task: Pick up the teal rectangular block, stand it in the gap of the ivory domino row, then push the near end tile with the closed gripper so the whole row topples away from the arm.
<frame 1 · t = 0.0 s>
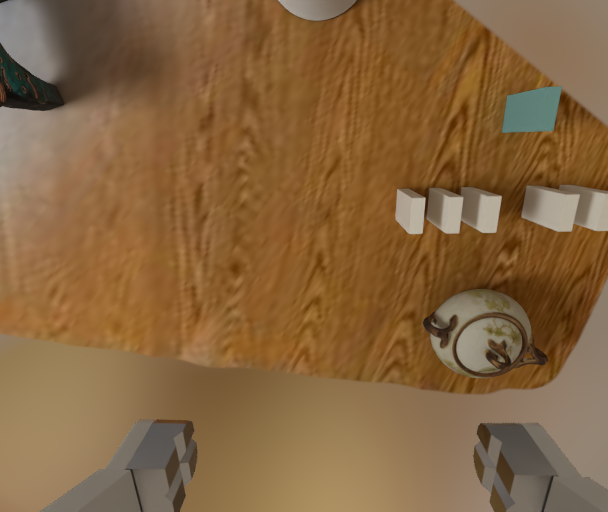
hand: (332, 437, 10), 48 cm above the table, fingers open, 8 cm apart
domino 3: (465, 202, 55), on the table
domino 5: (562, 200, 54), on the table
teal rectangular block: (510, 114, 50), on the table
domino 1: (402, 204, 55), on the table
domino 4: (529, 201, 54), on the table
domino 2: (433, 203, 55), on the table
ceramic cat: (27, 50, 51), on the table
sugar bowl: (462, 313, 61), on the table
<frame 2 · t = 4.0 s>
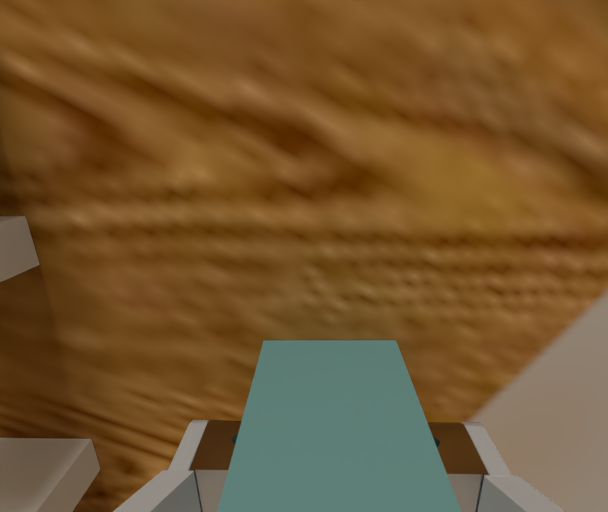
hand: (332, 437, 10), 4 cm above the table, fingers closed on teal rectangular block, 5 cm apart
teal rectangular block: (329, 360, 13), on the table, touching gripper
domino 4: (42, 453, 16), on the table
when the fingers open (4 cm above the table, at t = 10.0 s): teal rectangular block stays where it is, on the table.
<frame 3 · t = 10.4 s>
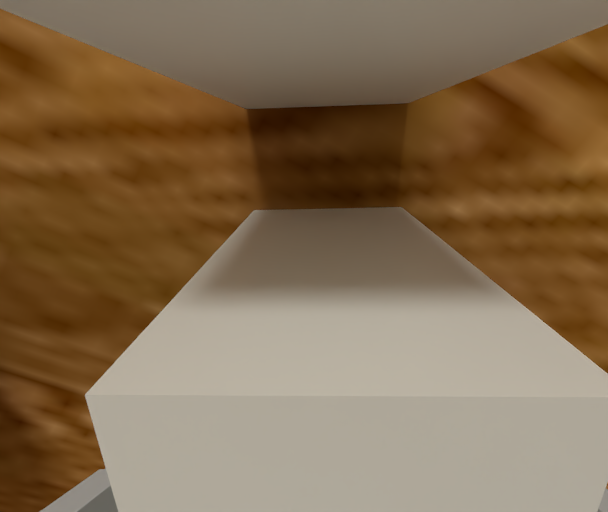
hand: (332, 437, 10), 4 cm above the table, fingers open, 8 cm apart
domino 3: (327, 234, 12), on the table
domino 2: (326, 73, 10), on the table
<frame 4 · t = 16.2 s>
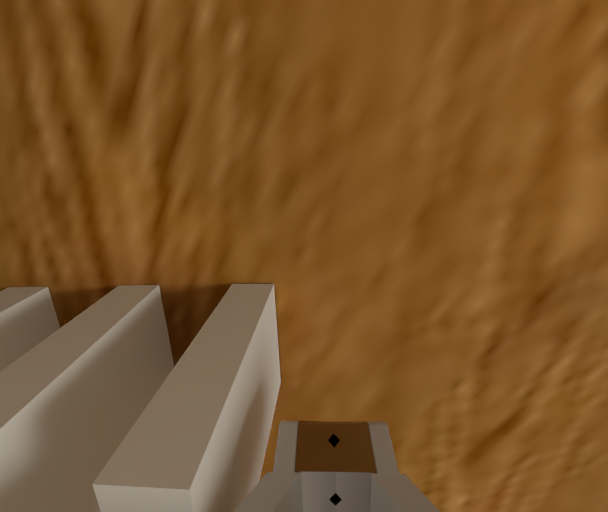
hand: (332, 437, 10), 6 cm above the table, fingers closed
domino 3: (44, 336, 16), on the table
domino 1: (257, 335, 15), on the table, touching gripper
domino 2: (149, 335, 16), on the table
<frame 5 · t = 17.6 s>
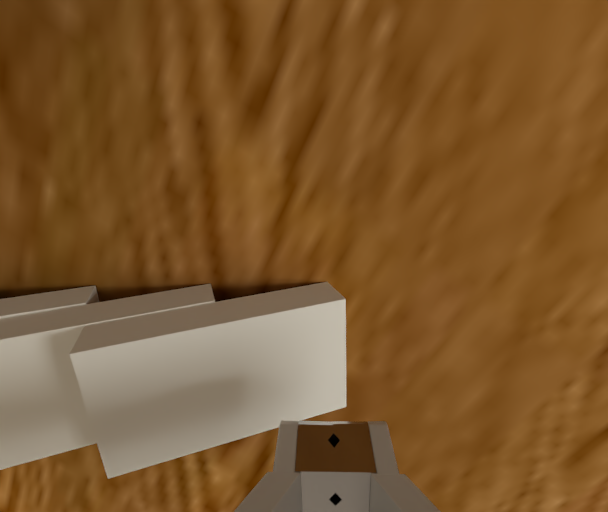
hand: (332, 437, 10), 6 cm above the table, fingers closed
domino 3: (104, 345, 15), point 1 cm above the table, tilted 68°, touching domino 2, teal rectangular block
domino 1: (336, 344, 14), point 1 cm above the table, tilted 69°, touching domino 2
domino 2: (220, 344, 15), point 1 cm above the table, tilted 68°, touching domino 1, domino 3
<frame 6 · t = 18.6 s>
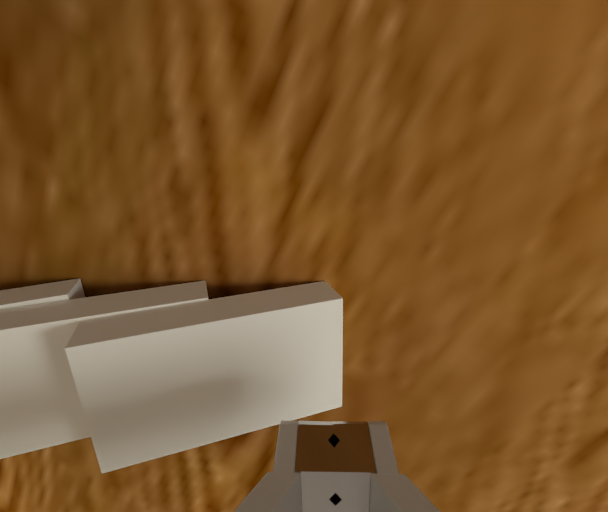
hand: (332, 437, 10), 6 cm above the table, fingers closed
domino 3: (89, 339, 15), point 1 cm above the table, tilted 69°, touching domino 2, teal rectangular block
domino 1: (333, 343, 14), point 1 cm above the table, tilted 69°, touching domino 2
domino 2: (213, 342, 15), point 1 cm above the table, tilted 69°, touching domino 1, domino 3
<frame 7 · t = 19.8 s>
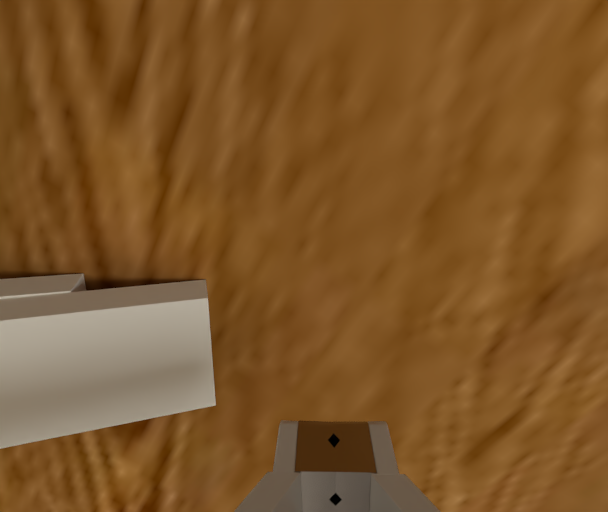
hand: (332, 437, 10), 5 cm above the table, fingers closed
domino 1: (210, 342, 14), point 1 cm above the table, tilted 70°, touching domino 2
domino 2: (87, 335, 15), point 1 cm above the table, tilted 70°, touching domino 1, domino 3
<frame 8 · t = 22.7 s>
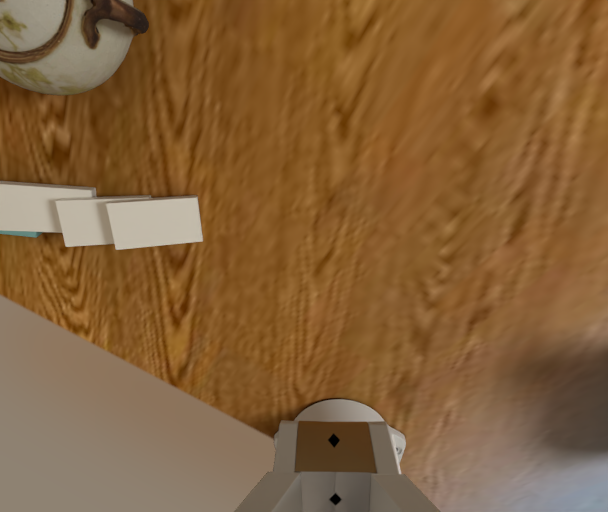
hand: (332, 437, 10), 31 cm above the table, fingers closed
domino 3: (95, 210, 39), point 1 cm above the table, tilted 72°
teal rectangular block: (39, 214, 40), point 1 cm above the table, tilted 70°, touching domino 4
domino 1: (199, 218, 39), point 1 cm above the table, tilted 72°, touching domino 2
domino 2: (152, 218, 39), point 1 cm above the table, tilted 73°, touching domino 1
sugar bowl: (88, 20, 34), on the table
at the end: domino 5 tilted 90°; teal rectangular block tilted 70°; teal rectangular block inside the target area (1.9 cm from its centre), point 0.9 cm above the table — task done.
